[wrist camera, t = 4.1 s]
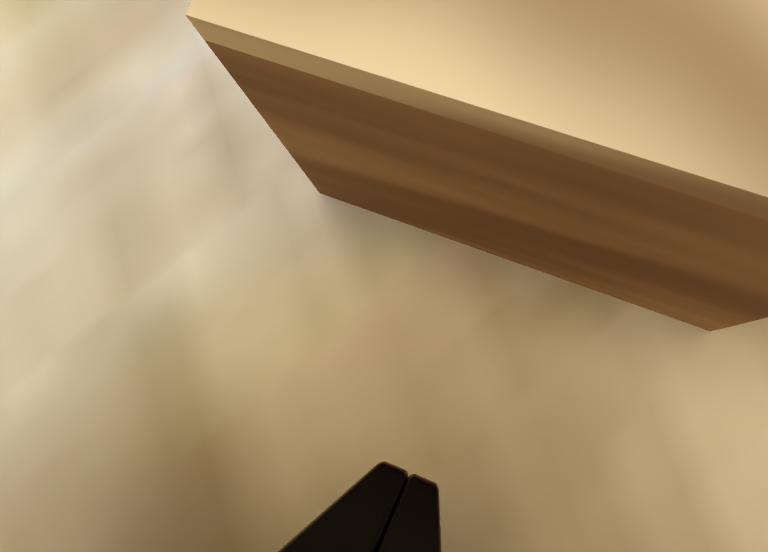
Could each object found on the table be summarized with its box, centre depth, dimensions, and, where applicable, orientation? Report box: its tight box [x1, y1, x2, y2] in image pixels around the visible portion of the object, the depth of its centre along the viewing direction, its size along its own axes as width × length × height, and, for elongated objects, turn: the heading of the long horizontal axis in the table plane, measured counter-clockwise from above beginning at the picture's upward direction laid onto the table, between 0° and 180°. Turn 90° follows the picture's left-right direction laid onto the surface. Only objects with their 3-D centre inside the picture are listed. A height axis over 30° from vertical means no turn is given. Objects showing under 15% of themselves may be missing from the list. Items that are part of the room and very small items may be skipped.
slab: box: [185, 0, 768, 331], centre depth 15 cm, size 4×12×10 cm, turn 68°
